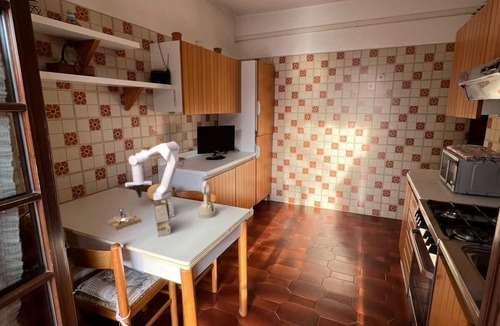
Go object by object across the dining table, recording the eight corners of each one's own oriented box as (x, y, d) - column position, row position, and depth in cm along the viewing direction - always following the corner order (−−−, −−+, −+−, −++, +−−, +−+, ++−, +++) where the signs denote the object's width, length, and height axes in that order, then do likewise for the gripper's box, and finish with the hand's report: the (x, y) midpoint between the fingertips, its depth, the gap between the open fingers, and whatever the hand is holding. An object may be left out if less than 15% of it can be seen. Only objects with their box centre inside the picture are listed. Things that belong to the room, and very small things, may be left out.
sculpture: (154, 203, 175) (152, 187, 173) (145, 199, 183) (143, 184, 180) (169, 198, 184) (168, 183, 181) (160, 194, 191) (158, 180, 189)
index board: (141, 221, 147) (140, 214, 146) (117, 230, 137) (116, 222, 136) (130, 215, 155) (130, 208, 154) (107, 222, 146) (106, 215, 145)
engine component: (195, 218, 151) (211, 219, 149) (193, 183, 147) (210, 184, 145) (202, 210, 161) (218, 211, 159) (200, 178, 157) (216, 179, 155)
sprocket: (130, 213, 153) (129, 205, 152) (137, 219, 146) (136, 210, 144) (110, 219, 146) (109, 210, 145) (116, 225, 139) (115, 216, 137)
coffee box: (171, 234, 132) (168, 203, 129) (157, 236, 130) (155, 206, 126) (169, 226, 140) (166, 198, 137) (156, 229, 138) (153, 200, 134)
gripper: (151, 172, 162) (153, 193, 164) (125, 174, 158) (128, 195, 161) (150, 175, 155) (152, 197, 158) (123, 177, 151) (126, 199, 154)
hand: (140, 196), depth 159 cm, fingers closed
